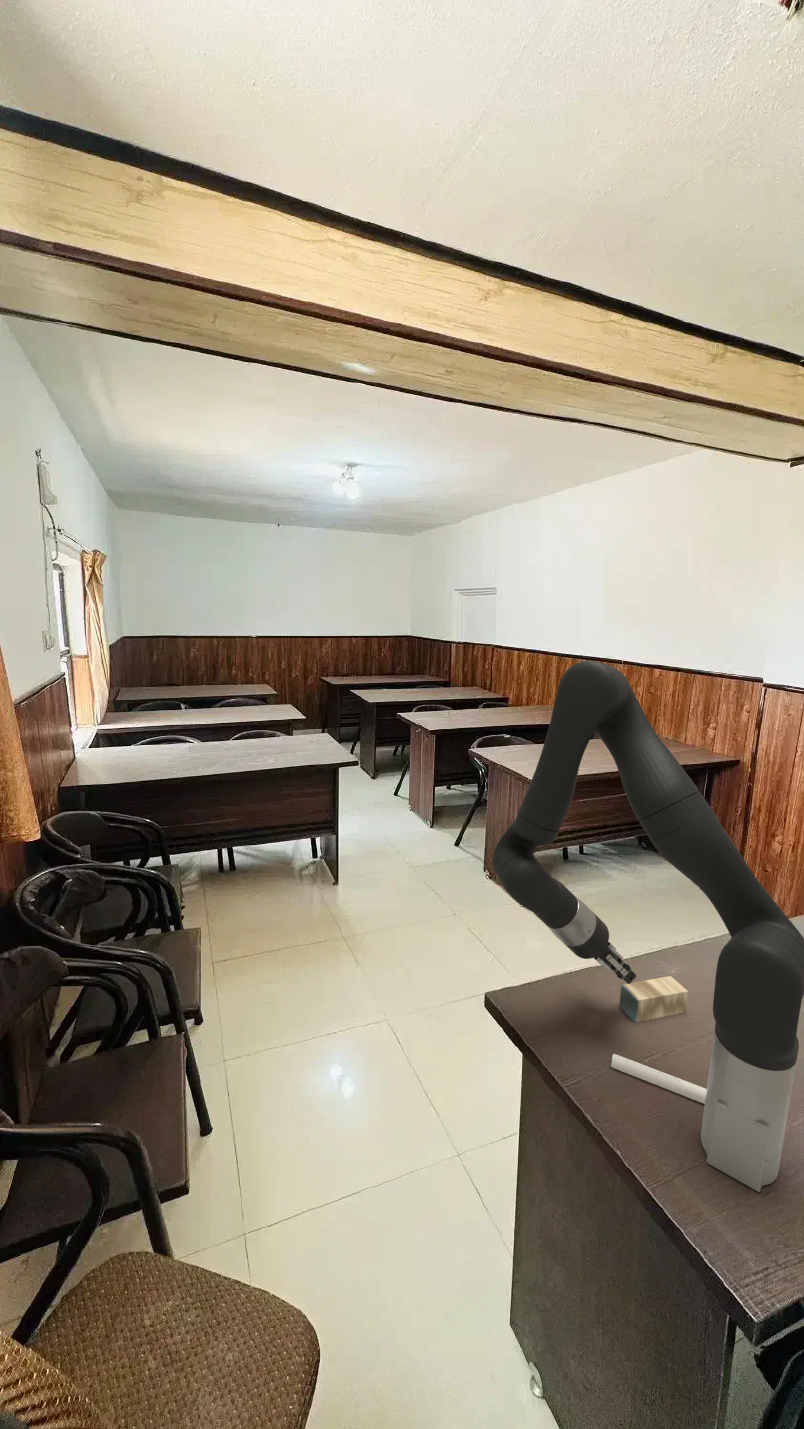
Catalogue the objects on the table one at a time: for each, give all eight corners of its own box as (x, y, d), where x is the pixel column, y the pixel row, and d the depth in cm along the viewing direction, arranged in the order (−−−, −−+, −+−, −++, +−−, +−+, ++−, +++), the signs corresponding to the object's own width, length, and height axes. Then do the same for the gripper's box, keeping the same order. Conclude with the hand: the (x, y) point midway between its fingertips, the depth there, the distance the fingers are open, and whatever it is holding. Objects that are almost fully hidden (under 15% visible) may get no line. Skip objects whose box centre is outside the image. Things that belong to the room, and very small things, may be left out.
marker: (738, 1110, 83) (740, 1097, 83) (738, 1121, 82) (740, 1107, 81) (612, 1061, 92) (614, 1049, 92) (610, 1070, 90) (611, 1057, 90)
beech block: (636, 1000, 100) (688, 991, 103) (621, 984, 104) (670, 976, 107) (634, 1022, 101) (685, 1012, 103) (619, 1006, 105) (668, 996, 108)
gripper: (613, 930, 90) (669, 986, 95) (570, 891, 103) (621, 942, 108) (582, 964, 90) (640, 1018, 95) (542, 920, 102) (595, 970, 108)
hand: (630, 977), depth 101 cm, fingers closed
